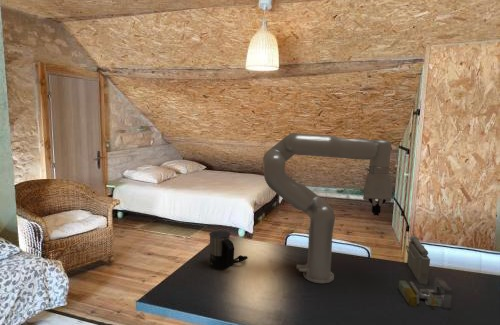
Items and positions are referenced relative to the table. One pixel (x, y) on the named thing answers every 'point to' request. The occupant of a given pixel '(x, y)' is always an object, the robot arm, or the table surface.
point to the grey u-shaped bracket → (439, 289)
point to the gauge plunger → (421, 295)
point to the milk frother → (222, 251)
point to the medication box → (407, 293)
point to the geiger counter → (418, 260)
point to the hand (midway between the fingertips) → (375, 214)
